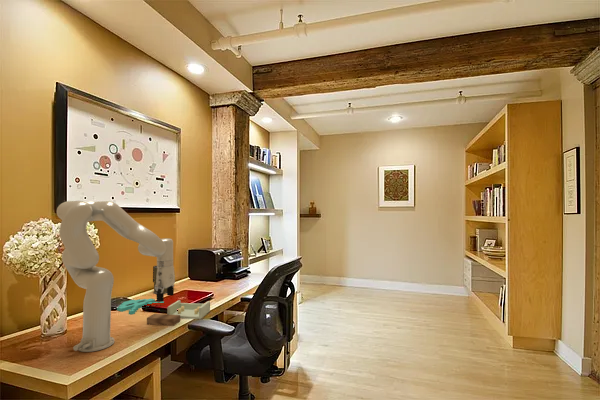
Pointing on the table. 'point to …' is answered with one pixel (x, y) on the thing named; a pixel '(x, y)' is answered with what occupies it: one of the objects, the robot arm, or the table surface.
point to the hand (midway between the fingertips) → (165, 298)
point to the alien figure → (135, 305)
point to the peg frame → (189, 309)
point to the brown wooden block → (163, 319)
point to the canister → (155, 280)
